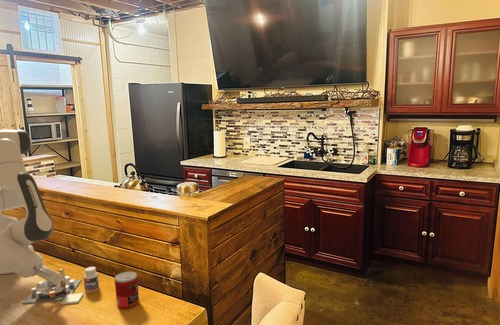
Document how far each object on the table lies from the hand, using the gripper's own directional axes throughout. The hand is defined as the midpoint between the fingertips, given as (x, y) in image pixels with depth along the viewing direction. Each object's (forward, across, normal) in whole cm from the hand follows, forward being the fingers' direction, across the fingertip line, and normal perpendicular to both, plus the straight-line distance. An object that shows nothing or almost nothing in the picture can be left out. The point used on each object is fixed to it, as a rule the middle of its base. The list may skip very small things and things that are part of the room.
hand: (59, 280), depth 137 cm
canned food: (+13, -28, -4) cm, 31 cm away
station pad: (+5, -7, +4) cm, 10 cm away
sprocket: (+4, +5, +4) cm, 8 cm away
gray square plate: (+4, +5, +4) cm, 8 cm away
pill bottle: (+11, -6, -2) cm, 13 cm away
